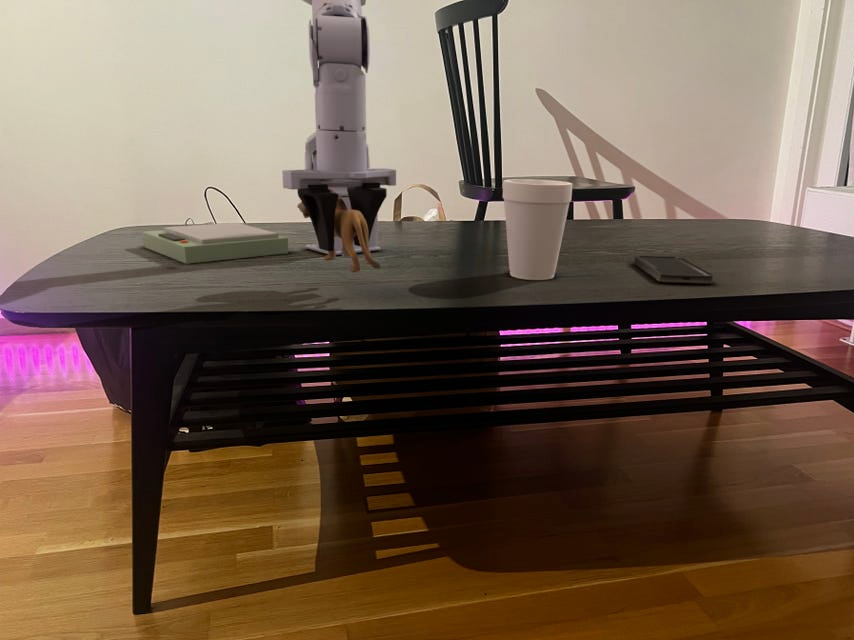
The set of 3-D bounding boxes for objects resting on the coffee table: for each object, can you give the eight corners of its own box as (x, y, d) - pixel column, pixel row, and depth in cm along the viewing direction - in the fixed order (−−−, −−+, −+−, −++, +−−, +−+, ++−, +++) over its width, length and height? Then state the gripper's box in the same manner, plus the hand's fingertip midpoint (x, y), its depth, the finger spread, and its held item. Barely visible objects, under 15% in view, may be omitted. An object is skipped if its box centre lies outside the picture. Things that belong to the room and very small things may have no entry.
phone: (681, 257, 112) (715, 276, 98) (680, 264, 113) (714, 284, 99) (632, 255, 112) (660, 274, 98) (632, 262, 112) (659, 282, 98)
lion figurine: (299, 257, 89) (290, 185, 86) (335, 250, 93) (328, 180, 89) (362, 277, 79) (354, 196, 76) (400, 268, 82) (394, 190, 79)
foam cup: (557, 285, 95) (564, 186, 90) (491, 278, 97) (496, 182, 93) (569, 272, 103) (576, 181, 99) (509, 266, 106) (513, 178, 101)
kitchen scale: (240, 239, 120) (239, 221, 119) (288, 253, 109) (287, 233, 108) (143, 247, 109) (141, 227, 108) (186, 263, 98) (184, 242, 97)
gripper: (303, 130, 73) (308, 259, 78) (412, 133, 83) (411, 247, 87) (270, 128, 78) (277, 249, 82) (376, 131, 88) (377, 239, 92)
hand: (343, 248), depth 85 cm, fingers closed on lion figurine, 4 cm apart
